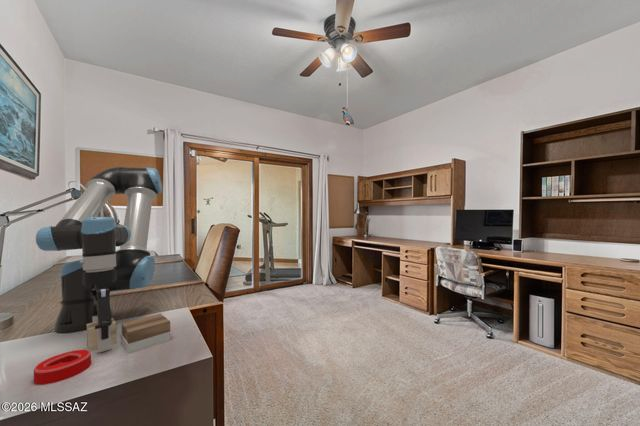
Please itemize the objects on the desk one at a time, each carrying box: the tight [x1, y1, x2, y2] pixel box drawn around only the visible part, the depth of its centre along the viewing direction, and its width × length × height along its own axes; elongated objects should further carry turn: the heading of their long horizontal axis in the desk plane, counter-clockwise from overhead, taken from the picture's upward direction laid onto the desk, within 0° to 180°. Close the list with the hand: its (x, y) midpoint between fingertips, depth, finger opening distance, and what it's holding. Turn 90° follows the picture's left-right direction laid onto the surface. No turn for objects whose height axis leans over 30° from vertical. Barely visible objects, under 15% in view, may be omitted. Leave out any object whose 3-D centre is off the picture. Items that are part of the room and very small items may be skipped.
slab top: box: [121, 313, 171, 344], centre depth 76 cm, size 10×10×3 cm
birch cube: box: [86, 317, 118, 352], centre depth 75 cm, size 6×6×6 cm
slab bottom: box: [120, 331, 171, 355], centre depth 75 cm, size 10×10×3 cm
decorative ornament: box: [33, 349, 92, 386], centre depth 61 cm, size 10×10×3 cm
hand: (101, 343), depth 75 cm, fingers open, 13 cm apart
